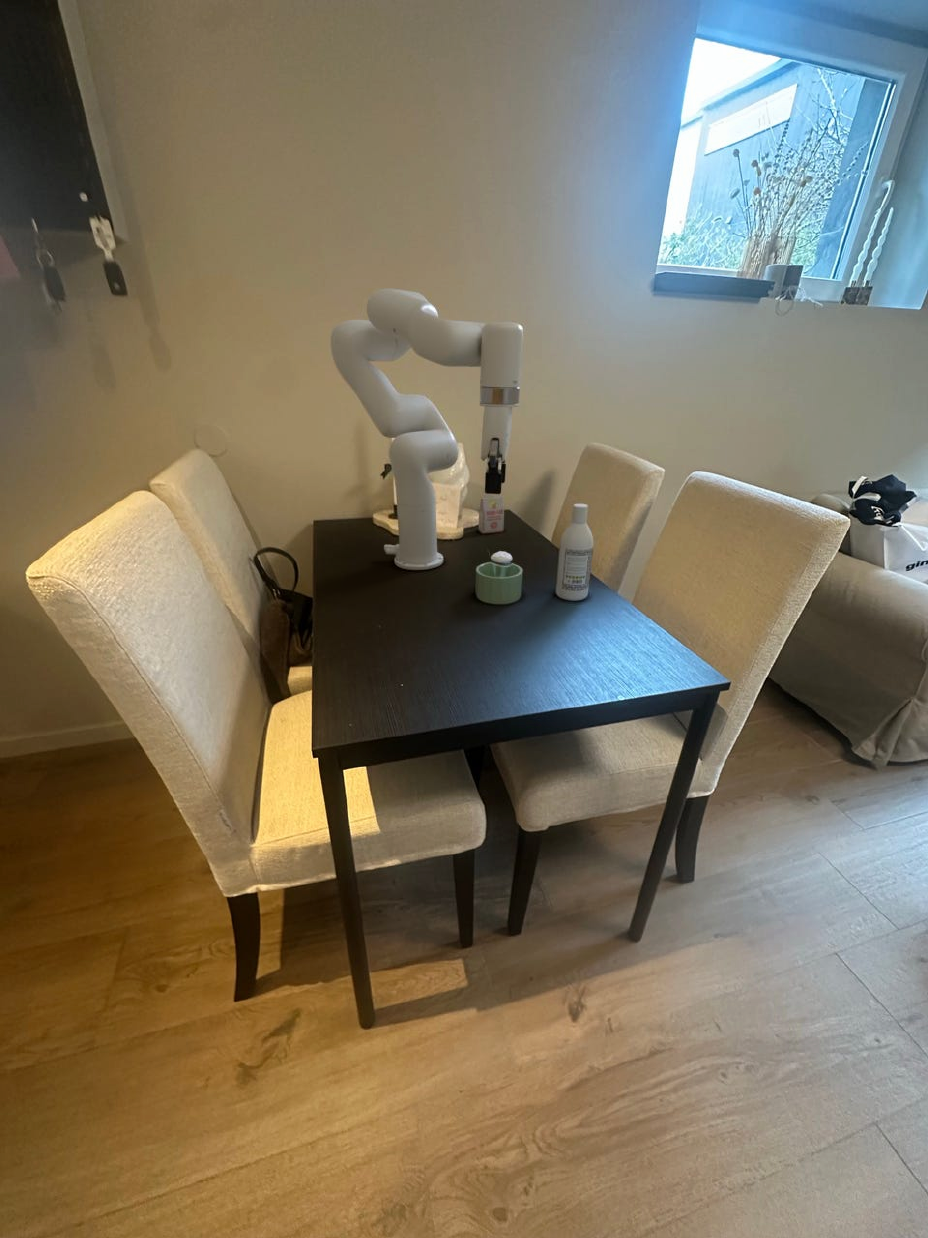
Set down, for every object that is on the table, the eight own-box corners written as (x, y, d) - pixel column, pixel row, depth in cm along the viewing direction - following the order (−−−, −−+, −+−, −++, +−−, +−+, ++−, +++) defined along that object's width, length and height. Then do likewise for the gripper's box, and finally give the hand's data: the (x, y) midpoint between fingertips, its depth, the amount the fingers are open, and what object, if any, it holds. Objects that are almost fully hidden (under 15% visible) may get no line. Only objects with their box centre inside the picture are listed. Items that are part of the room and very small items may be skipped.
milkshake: (485, 588, 112) (486, 546, 107) (509, 587, 112) (510, 545, 107) (488, 597, 108) (489, 553, 103) (512, 596, 108) (514, 552, 103)
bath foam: (593, 598, 108) (605, 507, 99) (565, 603, 106) (574, 510, 97) (576, 587, 114) (586, 499, 105) (549, 591, 112) (557, 502, 103)
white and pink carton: (478, 530, 154) (479, 497, 149) (498, 528, 156) (499, 496, 151) (482, 533, 151) (483, 500, 146) (503, 531, 153) (504, 498, 148)
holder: (473, 603, 106) (473, 576, 104) (478, 584, 115) (478, 560, 112) (520, 605, 105) (521, 579, 102) (521, 587, 114) (523, 562, 111)
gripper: (485, 393, 103) (482, 478, 111) (473, 400, 88) (471, 497, 96) (521, 395, 102) (515, 479, 110) (516, 401, 87) (510, 499, 95)
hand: (495, 487), depth 103 cm, fingers open, 9 cm apart
